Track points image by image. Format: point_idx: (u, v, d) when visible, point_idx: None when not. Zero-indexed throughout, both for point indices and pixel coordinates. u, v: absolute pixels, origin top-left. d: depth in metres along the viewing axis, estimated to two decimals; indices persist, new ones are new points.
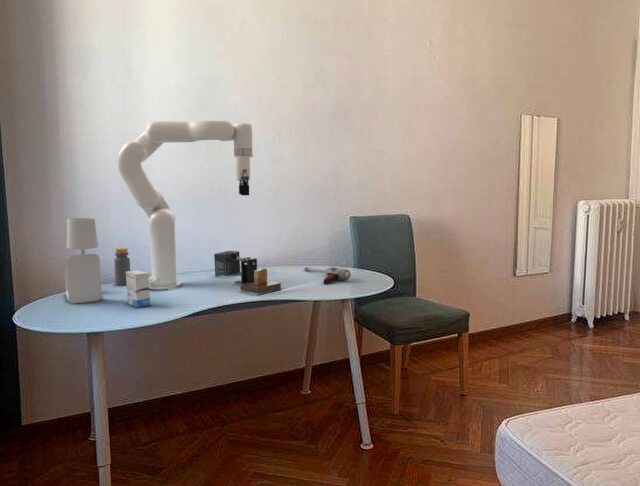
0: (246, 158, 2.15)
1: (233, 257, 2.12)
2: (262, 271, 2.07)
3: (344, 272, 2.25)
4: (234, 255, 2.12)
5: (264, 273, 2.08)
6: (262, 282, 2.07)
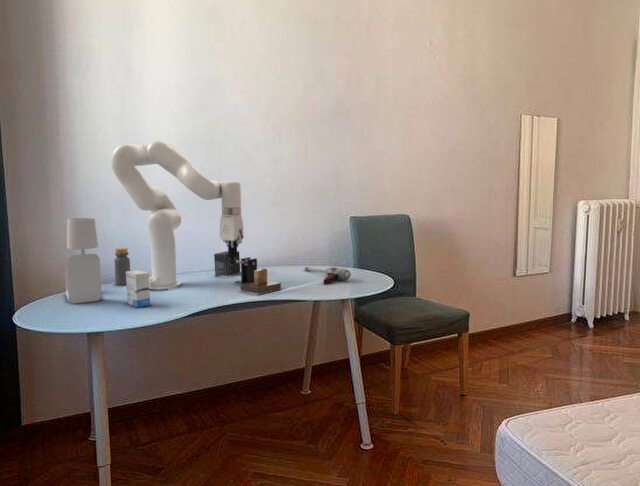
0: (240, 217, 2.09)
1: (232, 262, 2.12)
2: (262, 271, 2.07)
3: (344, 272, 2.25)
4: (233, 260, 2.12)
5: (264, 273, 2.08)
6: (262, 282, 2.07)
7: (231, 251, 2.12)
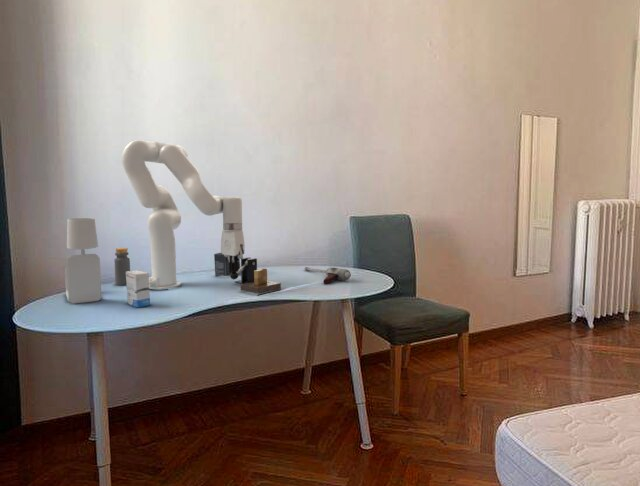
0: (241, 232, 2.10)
1: (235, 278, 2.14)
2: (262, 271, 2.07)
3: (344, 272, 2.25)
4: (234, 276, 2.13)
5: (264, 273, 2.08)
6: (262, 282, 2.07)
7: (232, 266, 2.13)
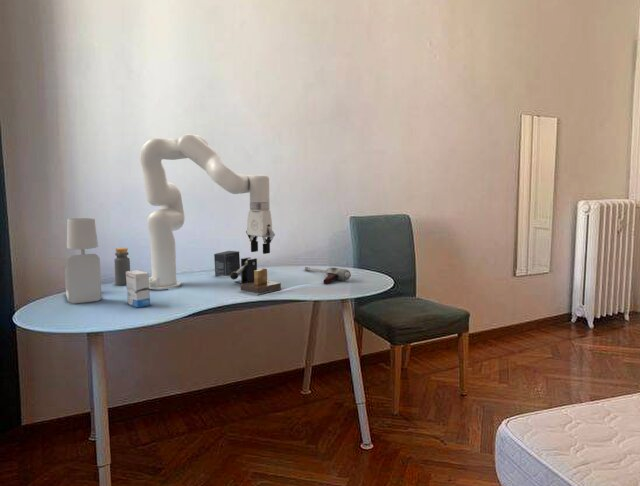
0: (269, 212, 2.02)
1: (235, 278, 2.14)
2: (262, 271, 2.07)
3: (344, 272, 2.25)
4: (234, 276, 2.13)
5: (264, 273, 2.08)
6: (262, 282, 2.07)
7: (264, 247, 2.03)
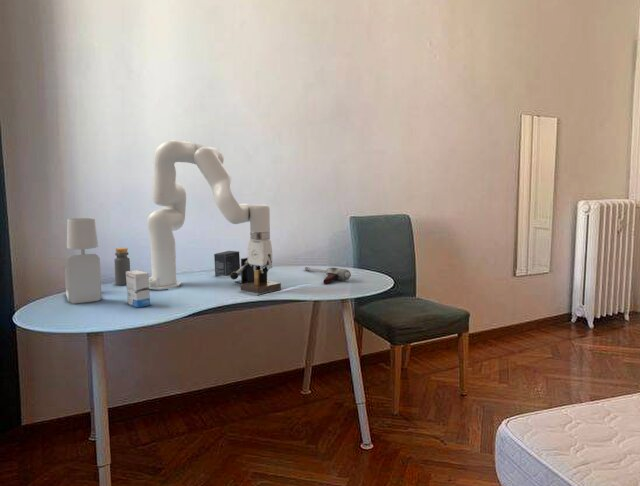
0: (269, 242, 2.04)
1: (235, 278, 2.14)
2: None
3: (344, 272, 2.25)
4: (234, 276, 2.13)
5: None
6: None
7: (261, 277, 2.05)
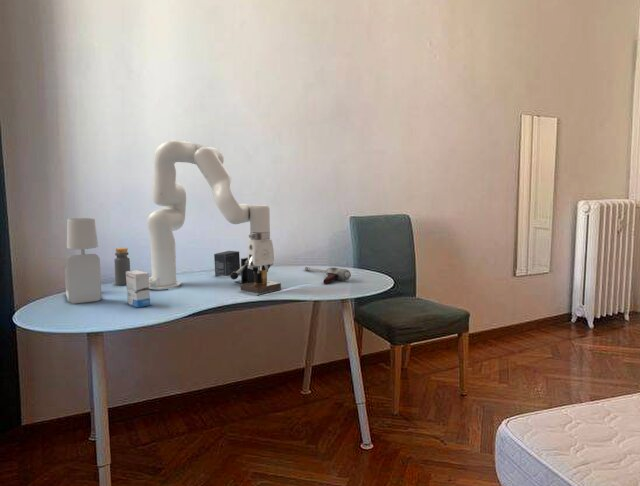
0: None
1: (235, 278, 2.14)
2: None
3: (344, 272, 2.25)
4: (234, 276, 2.13)
5: None
6: None
7: None
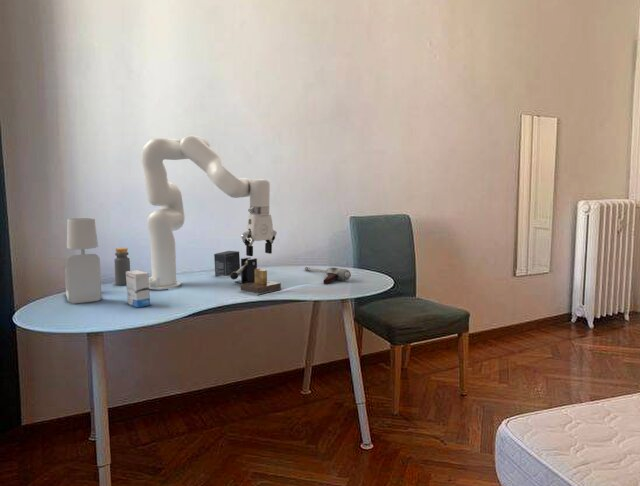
0: None
1: (235, 278, 2.14)
2: None
3: (344, 272, 2.25)
4: (234, 276, 2.13)
5: None
6: None
7: None
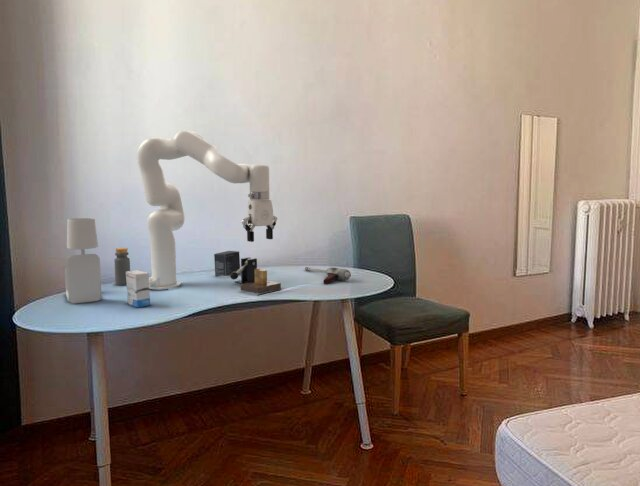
0: None
1: (235, 278, 2.14)
2: None
3: (344, 272, 2.25)
4: (234, 276, 2.13)
5: None
6: None
7: None
